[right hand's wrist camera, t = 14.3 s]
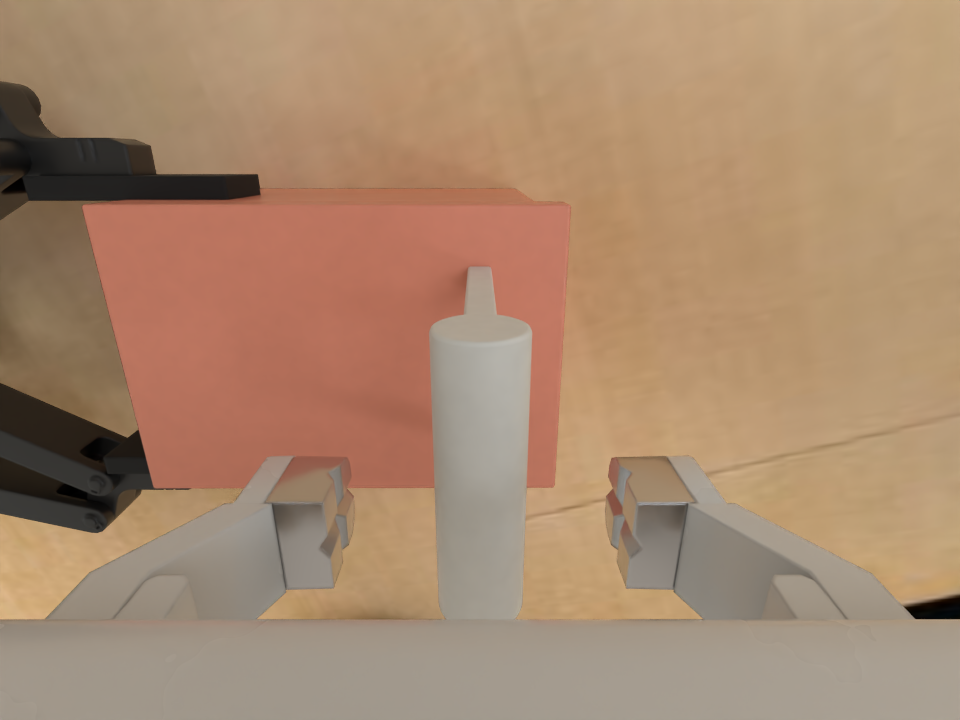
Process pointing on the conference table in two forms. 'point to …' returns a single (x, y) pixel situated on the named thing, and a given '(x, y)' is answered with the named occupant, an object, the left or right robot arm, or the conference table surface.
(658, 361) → the conference table surface
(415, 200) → the chest
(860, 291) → the conference table surface
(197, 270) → the pink board with handle
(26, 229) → the conference table surface
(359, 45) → the conference table surface
